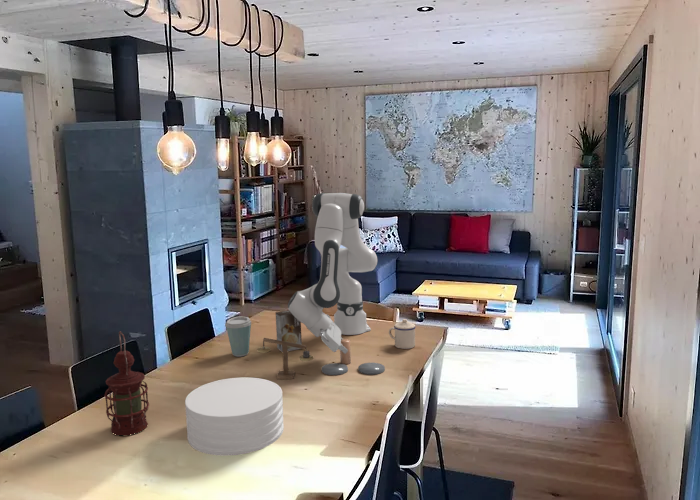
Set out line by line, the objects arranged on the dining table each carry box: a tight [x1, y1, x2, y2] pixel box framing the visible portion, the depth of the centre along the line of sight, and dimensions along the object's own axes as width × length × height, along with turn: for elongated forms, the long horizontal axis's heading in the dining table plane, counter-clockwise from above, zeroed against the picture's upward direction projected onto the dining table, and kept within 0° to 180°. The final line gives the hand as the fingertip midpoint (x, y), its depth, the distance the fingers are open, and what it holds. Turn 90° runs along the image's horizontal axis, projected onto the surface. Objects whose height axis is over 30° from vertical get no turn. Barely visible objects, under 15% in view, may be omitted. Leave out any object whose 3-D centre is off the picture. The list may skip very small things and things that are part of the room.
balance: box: [256, 337, 314, 380], centre depth 211 cm, size 6×21×15 cm, turn 90°
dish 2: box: [357, 362, 386, 376], centre depth 217 cm, size 10×10×1 cm
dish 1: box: [321, 362, 349, 376], centre depth 217 cm, size 10×10×1 cm
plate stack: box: [184, 376, 285, 456], centre depth 169 cm, size 28×28×12 cm
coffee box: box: [275, 309, 303, 353], centre depth 241 cm, size 9×6×16 cm
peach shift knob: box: [339, 338, 351, 366], centre depth 224 cm, size 4×4×9 cm
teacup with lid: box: [388, 318, 416, 350], centre depth 243 cm, size 12×9×12 cm
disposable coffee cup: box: [224, 315, 253, 358], centre depth 235 cm, size 11×11×15 cm
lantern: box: [104, 330, 150, 436], centre depth 170 cm, size 12×12×30 cm
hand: (346, 349), depth 224 cm, fingers closed on peach shift knob, 4 cm apart
